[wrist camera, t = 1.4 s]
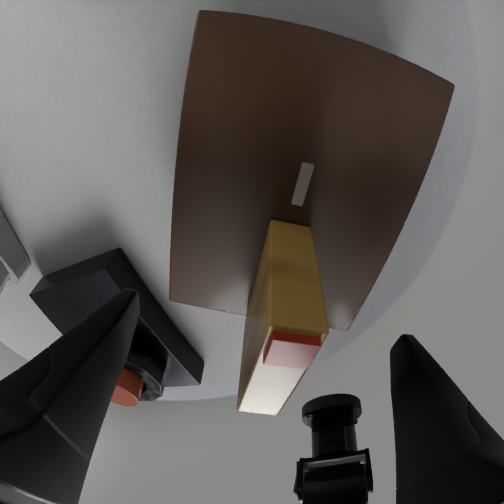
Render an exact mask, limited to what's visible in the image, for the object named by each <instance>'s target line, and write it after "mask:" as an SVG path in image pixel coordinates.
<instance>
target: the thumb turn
mask: <svg viewBox="0 0 504 504" xmlns="http://www.w3.org/2000/svg"><path fill="white" fill-rule="evenodd" d="M328 333H329V328H328V322H327V315H326V309H325V303H324V297H323V291H322V285H321V279H320V273H319V268H318V262H317V257H316V252H315V247H314V241H313V236H312V231H311V228H309V227H306V226H301V225H296V224H291V223H286V222H281V221H276V220H271V221H270V224H269V228H268V231H267V235H266V239H265V243H264V247H263V251H262V255H261V259H260V263H259V267H258V271H257V275H256V278H255V282H254V286H253V290H252V294H251V298H250V302H249V305H248V309H247V313H246V321H245V331H244V341H243V351H242V361H241V370H240V380H239V390H238V400H237V410H238V411H245V412H252V413H260V414H271V415H278V414H279V412H280V410H281V409H282V408H283V406H284V405H285V403H286V402H287V400H288V399H289V397H290V396H291V394H292V393H293V391H294V390H295V388H296V386H297V385H298V383H299V382H300V380H301V378H302V377H303V375H304V374H305V372H306V370H307V369H308V368H309V366H310V364H311V363H312V361H313V359H314V358H315V356H316V354H317V353H318V351H319V349H320V348H321V346H322V344H323V342H324V340H325V338H326V337H327V335H328Z"/></svg>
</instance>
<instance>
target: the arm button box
mask: <svg viewBox="0 0 504 504" xmlns="http://www.w3.org/2000/svg"><path fill="white" fill-rule="evenodd" d="M126 288H128V289H133V290H136V291H138V293H139V303H140V314H139V318H138V321H137V324H136V328H135V331H134V335H133V339H132V342H131V346H130V350H129V353H128V356H127V359H126V362H125V364H124V367H123V368H125V369H127V370H129V371H131V372H133V373H135V374H136V375H137V376H139V377H140V378H141V379H142V380H143V381H144V385H143V389H142V392H141V395H140V399H139V401H154V400H155V399H157V398H159V397H160V396H162V394H163V391H164V387H172V386H189V385H200V384H201V379H202V374H203V369H204V361H203V360H202V359H201V358H200V357H199V355H198V354H197V353H196V352H195V350H194V349H193V348H192V347H191V345H190V344H189V343H188V342H187V340H186V339H185V338H184V337H183V335H182V334H181V333H180V331H179V330H178V329H177V328H176V326H175V325H174V324H173V322H172V321H171V320H170V318H169V317H168V316H167V314H166V313H165V312H164V310H163V309H162V308H161V306H160V305H159V304H158V302H157V301H156V299H155V298H154V297H153V295H152V294H151V292H150V291H149V290H148V288H147V287H146V285H145V284H144V282H143V281H142V280H141V278H140V277H139V275H138V274H137V272H136V271H135V269H134V268H133V266H132V265H131V263H130V262H129V260H128V259H127V257H126V256H125V254H124V253H123V251H122V250H121V248H117V249H114V250H112V251H109V252H106V253H104V254H101V255H98V256H96V257H93V258H90V259H88V260H85V261H82V262H80V263H77V264H75V265H72V266H70V267H67V268H64V269H62V270H59V271H57V272H54V273H52V274H49V275H47V276H45V277H42V279H41V280H40V281H39V282H38V284H37V285H36V286H35V288H34V289H33V290H32V292H31V293H30V295H29V296H30V297H31V298H32V300H33V301H34V302H35V303H36V305H37V306H38V307H39V308H40V309H41V311H42V312H43V313H44V314H45V315H46V316H47V318H48V319H49V320H50V321H51V322H52V323H53V324H54V326H55V327H56V328H57V329H58V330H59V331H60V332H61V333H62V334H63V335H64V334H65V333H66V332H68V331H69V330H70V329H72V328H73V327H74V326H76V325H77V324H78V323H79V322H81V321H82V320H83V319H85V318H86V317H87V316H89V315H90V314H91V313H93V312H94V311H95V310H97V309H98V308H99V307H101V306H102V305H103V304H105V303H106V302H107V301H109V300H110V299H111V298H113V297H114V296H116V295H117V294H118V293H120V292H121V291H122V290H124V289H126Z"/></svg>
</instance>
